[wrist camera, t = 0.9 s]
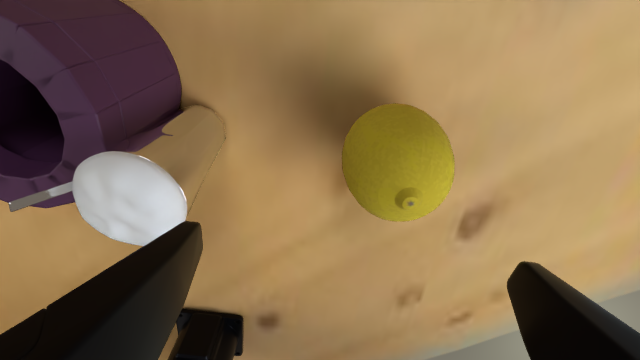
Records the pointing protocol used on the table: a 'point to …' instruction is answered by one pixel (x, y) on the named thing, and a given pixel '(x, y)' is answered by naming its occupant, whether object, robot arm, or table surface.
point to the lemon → (398, 162)
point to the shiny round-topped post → (144, 177)
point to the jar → (75, 88)
